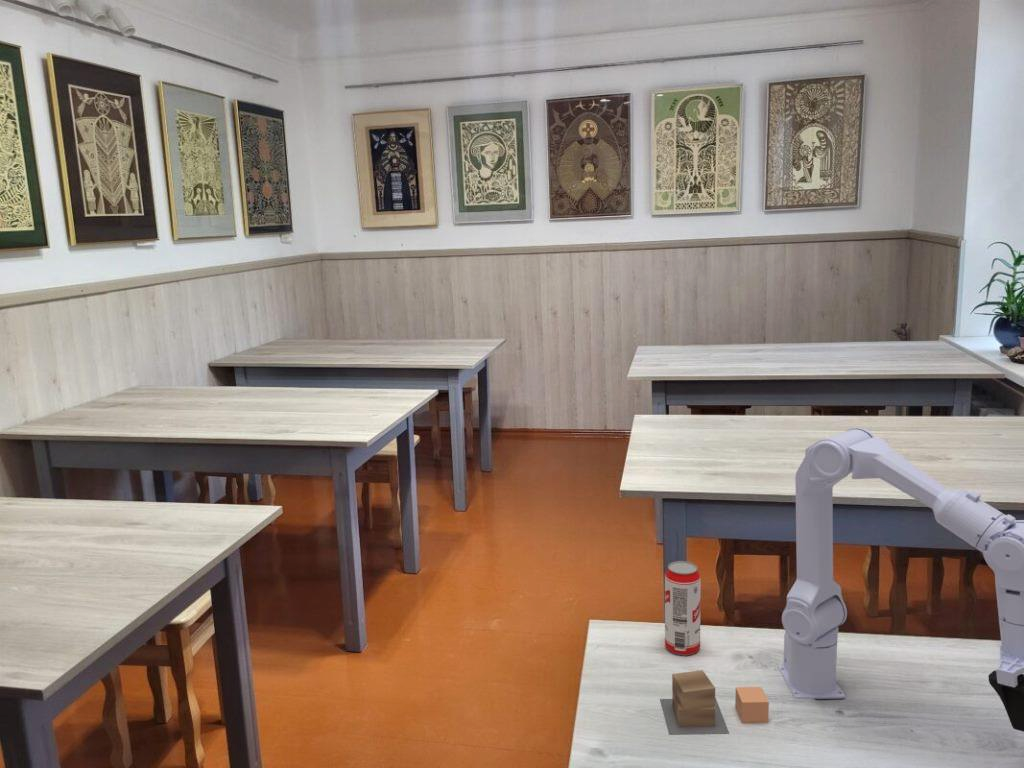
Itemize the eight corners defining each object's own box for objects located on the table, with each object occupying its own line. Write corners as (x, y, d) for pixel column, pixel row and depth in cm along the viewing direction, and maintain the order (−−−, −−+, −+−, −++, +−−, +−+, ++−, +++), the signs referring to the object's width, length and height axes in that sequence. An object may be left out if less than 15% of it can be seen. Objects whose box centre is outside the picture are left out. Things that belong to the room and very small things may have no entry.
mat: (659, 701, 126) (659, 698, 126) (715, 700, 126) (715, 697, 126) (669, 736, 117) (669, 734, 117) (729, 735, 117) (729, 733, 117)
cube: (735, 709, 123) (735, 687, 122) (760, 709, 123) (761, 686, 122) (741, 725, 119) (742, 702, 118) (768, 725, 119) (768, 702, 118)
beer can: (662, 656, 139) (662, 572, 136) (666, 638, 145) (666, 558, 142) (698, 660, 137) (699, 576, 134) (701, 642, 143) (702, 561, 140)
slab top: (672, 691, 123) (672, 673, 122) (702, 687, 124) (702, 670, 123) (683, 710, 118) (683, 692, 117) (715, 705, 119) (715, 688, 118)
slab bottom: (672, 705, 124) (672, 688, 124) (707, 704, 124) (707, 687, 123) (678, 727, 119) (678, 709, 118) (714, 726, 119) (715, 708, 118)
